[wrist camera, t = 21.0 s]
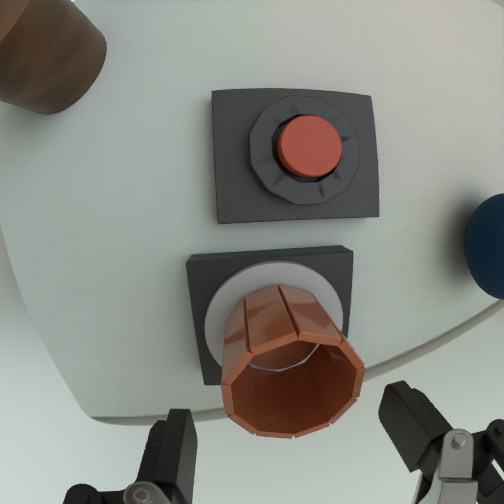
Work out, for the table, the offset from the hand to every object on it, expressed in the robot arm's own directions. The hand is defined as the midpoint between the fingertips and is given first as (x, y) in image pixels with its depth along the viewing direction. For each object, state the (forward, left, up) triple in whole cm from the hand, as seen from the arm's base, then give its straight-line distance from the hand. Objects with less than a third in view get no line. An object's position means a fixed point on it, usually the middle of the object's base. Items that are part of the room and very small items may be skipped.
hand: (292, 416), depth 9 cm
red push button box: (+2, +11, -10) cm, 15 cm away
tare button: (+2, +11, -7) cm, 13 cm away
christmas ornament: (+19, +5, -10) cm, 22 cm away
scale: (0, 0, -10) cm, 10 cm away
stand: (-15, +20, -10) cm, 27 cm away
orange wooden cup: (0, 0, -7) cm, 7 cm away
